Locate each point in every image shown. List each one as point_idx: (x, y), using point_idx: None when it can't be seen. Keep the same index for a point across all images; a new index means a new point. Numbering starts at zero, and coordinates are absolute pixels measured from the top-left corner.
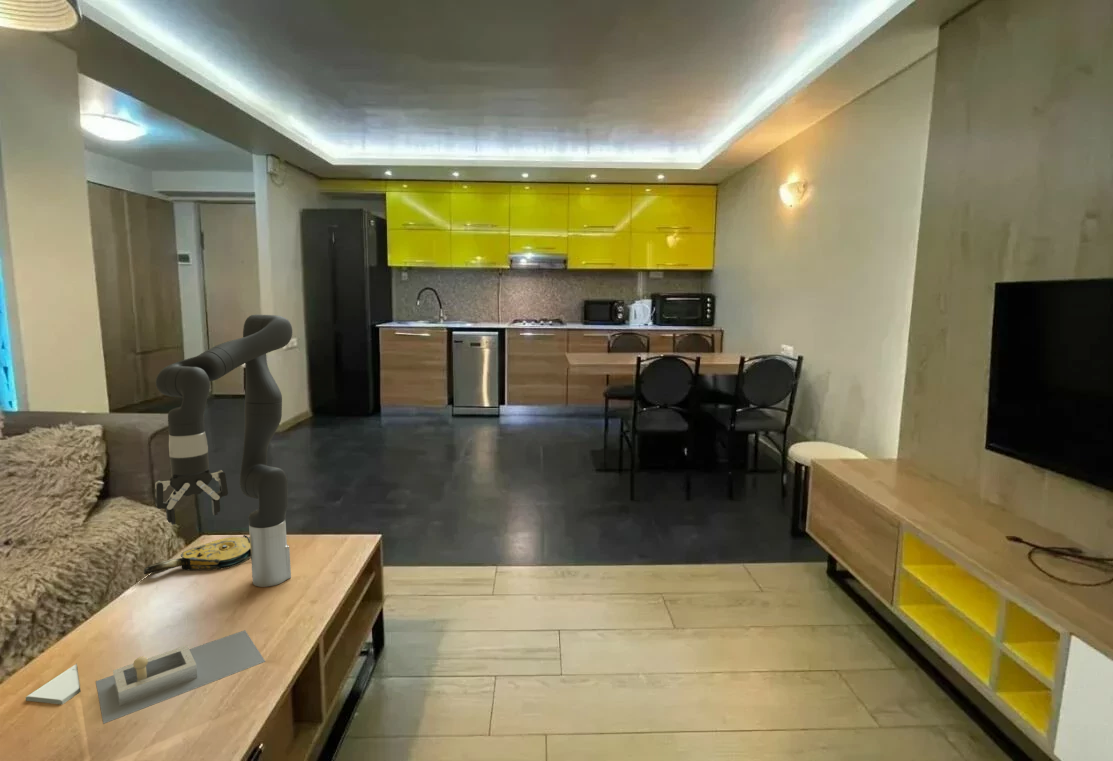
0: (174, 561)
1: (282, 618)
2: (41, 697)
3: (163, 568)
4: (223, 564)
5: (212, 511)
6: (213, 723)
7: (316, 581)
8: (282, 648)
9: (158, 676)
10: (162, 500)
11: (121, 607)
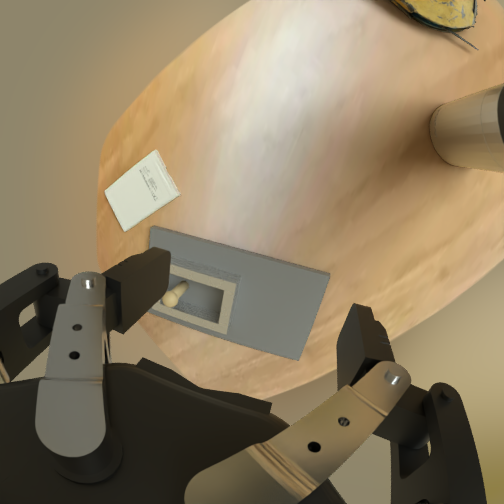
0: None
1: (389, 278)
2: (112, 208)
3: None
4: (418, 16)
5: (352, 315)
6: (219, 380)
7: (486, 217)
8: (335, 342)
9: (187, 319)
10: (40, 349)
11: (241, 19)
